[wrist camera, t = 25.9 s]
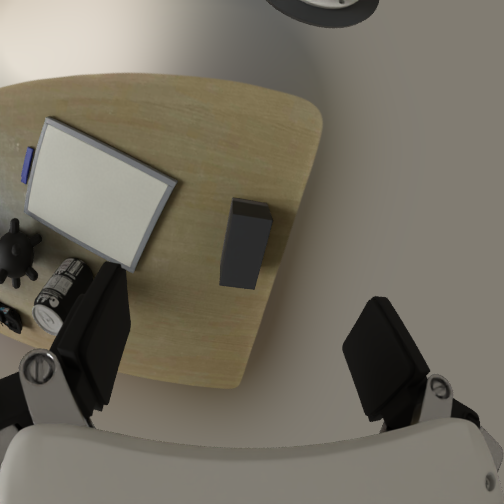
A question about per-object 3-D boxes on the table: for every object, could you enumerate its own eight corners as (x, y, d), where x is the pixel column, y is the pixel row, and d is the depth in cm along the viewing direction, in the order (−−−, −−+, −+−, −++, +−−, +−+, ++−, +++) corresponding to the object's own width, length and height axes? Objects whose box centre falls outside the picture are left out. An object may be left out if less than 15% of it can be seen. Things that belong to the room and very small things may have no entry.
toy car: (-13, 295, 40) (-21, 306, 37) (14, 298, 41) (5, 311, 38) (2, 322, 45) (-5, 333, 41) (29, 327, 46) (22, 339, 42)
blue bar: (32, 155, 28) (33, 154, 28) (27, 152, 28) (28, 152, 28) (25, 184, 30) (26, 183, 30) (21, 181, 30) (22, 180, 30)
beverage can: (82, 293, 41) (55, 342, 31) (57, 267, 38) (24, 313, 28) (102, 277, 40) (74, 329, 30) (75, 248, 37) (39, 296, 26)
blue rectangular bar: (28, 146, 27) (27, 146, 27) (33, 149, 28) (32, 149, 27) (22, 175, 29) (21, 176, 29) (26, 178, 30) (25, 179, 29)
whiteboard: (49, 116, 26) (46, 116, 25) (177, 180, 33) (176, 182, 32) (26, 210, 32) (23, 212, 32) (134, 270, 40) (133, 273, 39)
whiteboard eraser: (232, 197, 35) (232, 213, 30) (267, 203, 36) (273, 220, 31) (220, 262, 40) (219, 285, 35) (251, 266, 41) (254, 289, 36)
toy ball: (48, 226, 31) (48, 299, 34) (39, 210, 37) (37, 273, 40) (-15, 228, 23) (-8, 306, 25) (-12, 211, 28) (-10, 277, 31)
